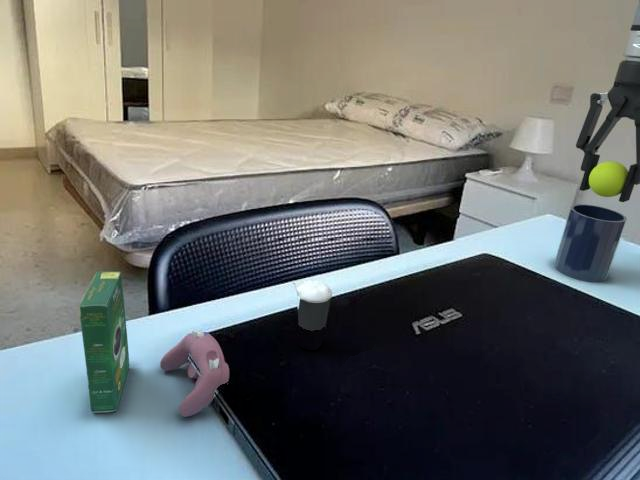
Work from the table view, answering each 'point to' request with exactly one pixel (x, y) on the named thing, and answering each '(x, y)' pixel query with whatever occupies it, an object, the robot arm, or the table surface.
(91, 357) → the coffee box
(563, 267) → the tube
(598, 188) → the tennis ball
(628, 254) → the table surface
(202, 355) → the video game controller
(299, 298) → the milkshake
